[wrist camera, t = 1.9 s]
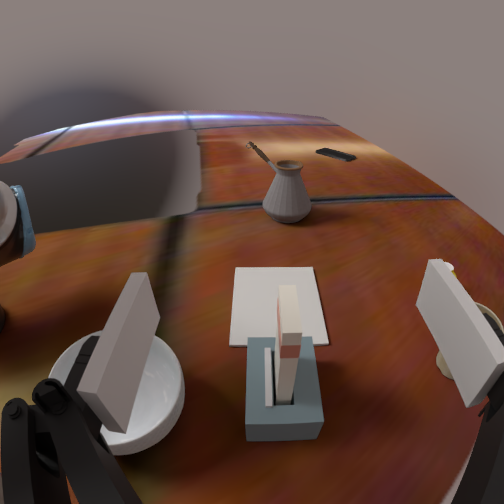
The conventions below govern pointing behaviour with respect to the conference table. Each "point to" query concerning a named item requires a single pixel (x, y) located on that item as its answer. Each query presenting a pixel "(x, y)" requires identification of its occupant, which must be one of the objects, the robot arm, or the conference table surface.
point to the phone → (336, 154)
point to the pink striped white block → (286, 344)
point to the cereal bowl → (141, 397)
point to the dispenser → (262, 395)
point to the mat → (273, 303)
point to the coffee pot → (285, 191)
